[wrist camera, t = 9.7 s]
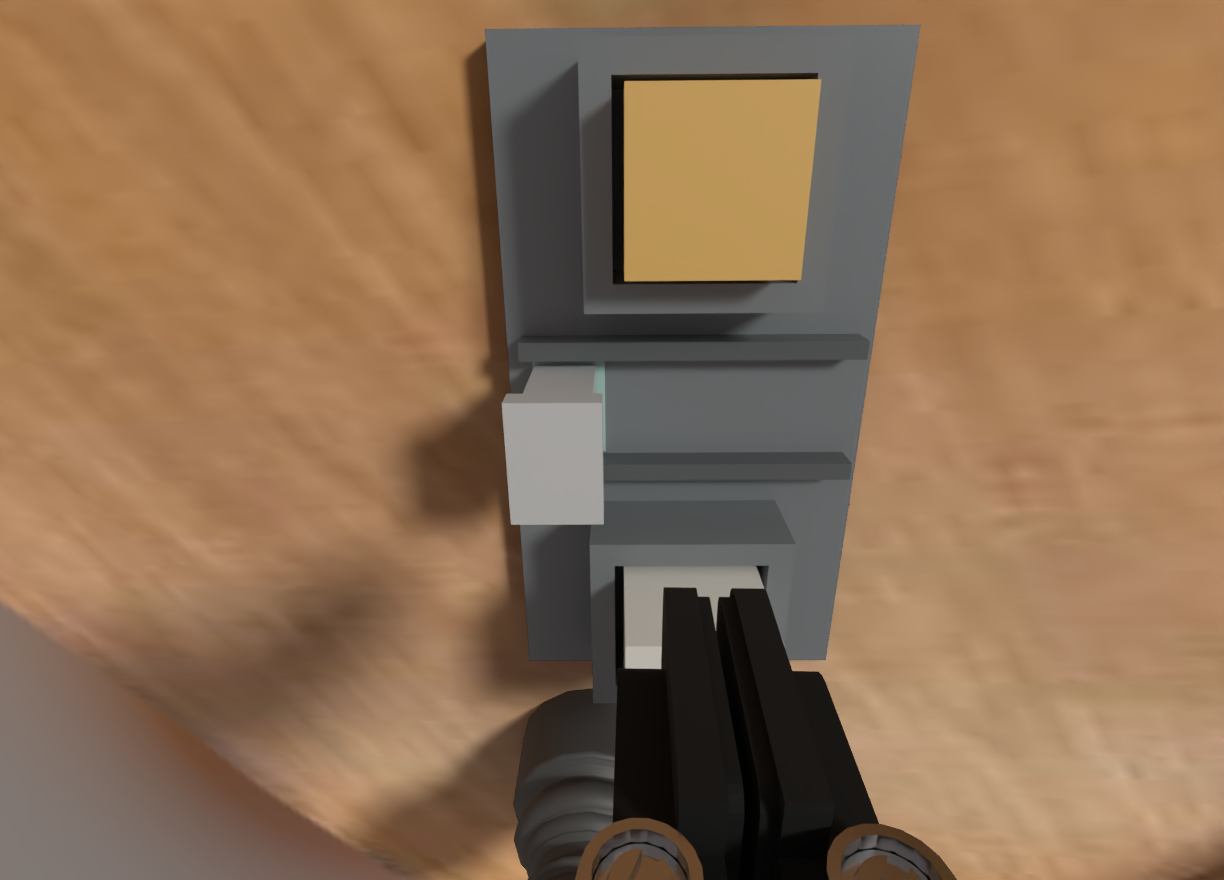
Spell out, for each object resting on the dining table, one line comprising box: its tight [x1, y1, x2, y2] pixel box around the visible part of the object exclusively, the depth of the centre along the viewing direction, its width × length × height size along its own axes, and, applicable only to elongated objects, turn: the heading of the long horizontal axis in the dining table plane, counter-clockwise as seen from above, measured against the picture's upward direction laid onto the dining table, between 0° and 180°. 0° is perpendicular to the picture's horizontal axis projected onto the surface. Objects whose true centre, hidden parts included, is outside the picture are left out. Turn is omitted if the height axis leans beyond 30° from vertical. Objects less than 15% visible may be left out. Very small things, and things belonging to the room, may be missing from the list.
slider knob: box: [502, 364, 604, 525], centre depth 20 cm, size 3×4×5 cm
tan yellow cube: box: [623, 79, 822, 281], centre depth 17 cm, size 4×4×4 cm
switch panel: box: [485, 25, 921, 703], centre depth 21 cm, size 12×22×4 cm, turn 0°
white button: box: [624, 566, 785, 669], centre depth 21 cm, size 4×4×4 cm
